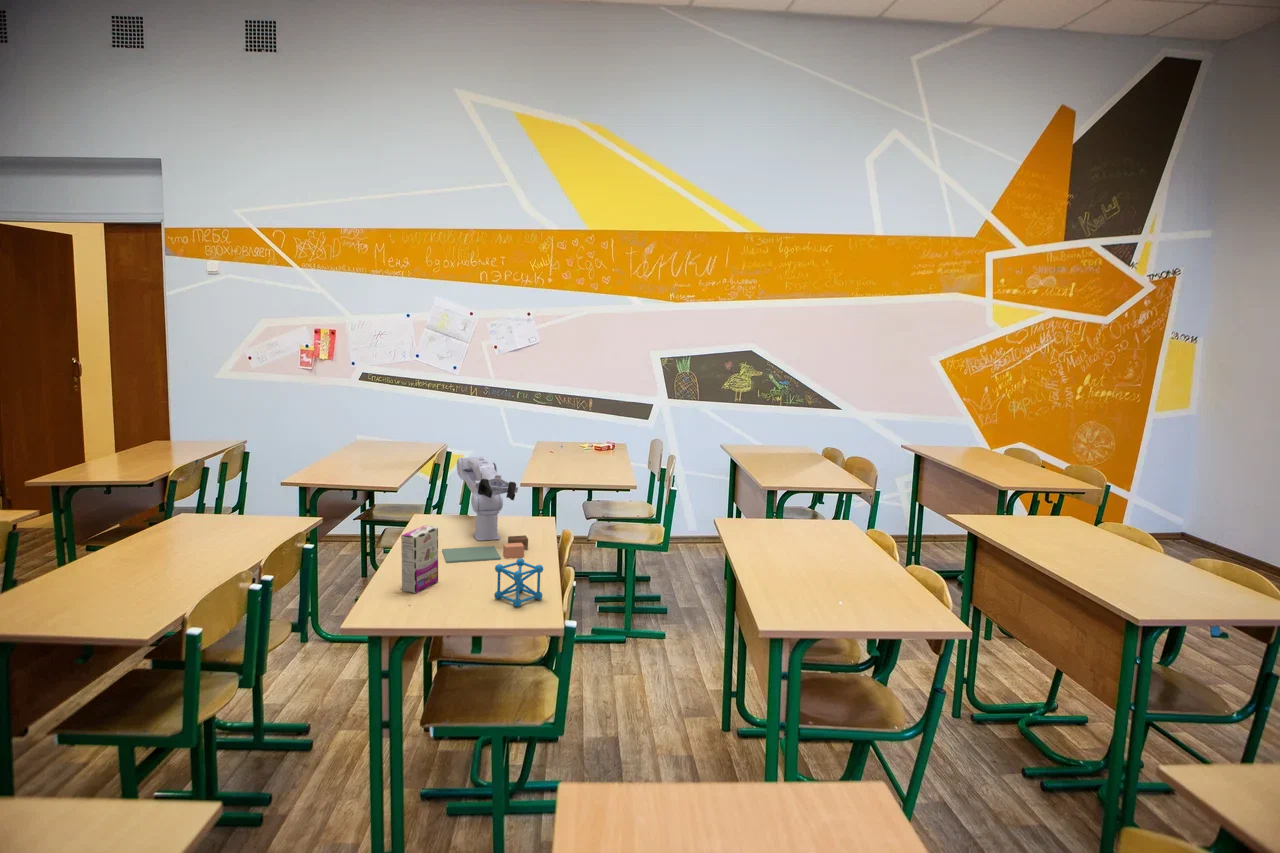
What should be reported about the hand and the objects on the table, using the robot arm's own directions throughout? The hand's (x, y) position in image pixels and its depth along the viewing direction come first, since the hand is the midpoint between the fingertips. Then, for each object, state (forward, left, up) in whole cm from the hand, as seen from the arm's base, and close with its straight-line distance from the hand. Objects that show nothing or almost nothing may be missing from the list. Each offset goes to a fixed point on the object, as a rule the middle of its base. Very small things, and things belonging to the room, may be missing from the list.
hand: (502, 496), depth 247 cm
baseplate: (-1, -9, -19) cm, 22 cm away
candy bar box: (+25, -27, -20) cm, 42 cm away
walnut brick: (-5, +7, -20) cm, 21 cm away
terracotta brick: (+3, +4, -20) cm, 20 cm away
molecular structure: (+41, -2, -20) cm, 46 cm away
